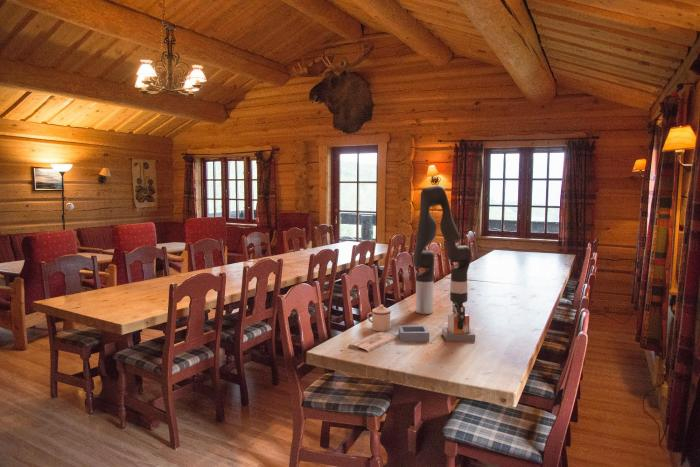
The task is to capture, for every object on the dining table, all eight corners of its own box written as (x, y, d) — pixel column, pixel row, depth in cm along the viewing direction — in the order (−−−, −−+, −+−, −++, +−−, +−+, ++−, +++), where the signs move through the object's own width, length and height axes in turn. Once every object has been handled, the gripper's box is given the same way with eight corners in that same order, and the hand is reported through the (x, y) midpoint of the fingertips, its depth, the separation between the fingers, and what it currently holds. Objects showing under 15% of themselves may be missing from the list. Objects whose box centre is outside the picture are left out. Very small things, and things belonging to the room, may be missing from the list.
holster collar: (442, 333, 217) (442, 327, 216) (469, 333, 216) (469, 327, 216) (446, 341, 206) (446, 334, 206) (475, 341, 206) (475, 334, 206)
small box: (453, 340, 208) (453, 317, 206) (447, 336, 213) (447, 313, 212) (469, 338, 210) (469, 315, 209) (463, 334, 215) (463, 312, 214)
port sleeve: (398, 334, 217) (398, 325, 216) (425, 333, 217) (425, 325, 216) (400, 341, 206) (400, 332, 206) (429, 341, 206) (429, 332, 206)
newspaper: (375, 334, 219) (375, 329, 218) (397, 342, 211) (397, 337, 211) (343, 347, 201) (344, 342, 201) (366, 356, 194) (367, 351, 193)
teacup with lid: (394, 327, 226) (394, 304, 225) (385, 332, 219) (385, 308, 217) (372, 324, 233) (371, 301, 231) (363, 329, 225) (362, 305, 224)
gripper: (447, 287, 216) (446, 321, 218) (453, 294, 202) (453, 331, 204) (463, 287, 216) (463, 321, 218) (471, 294, 202) (470, 331, 204)
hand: (458, 326), depth 211 cm, fingers open, 8 cm apart
